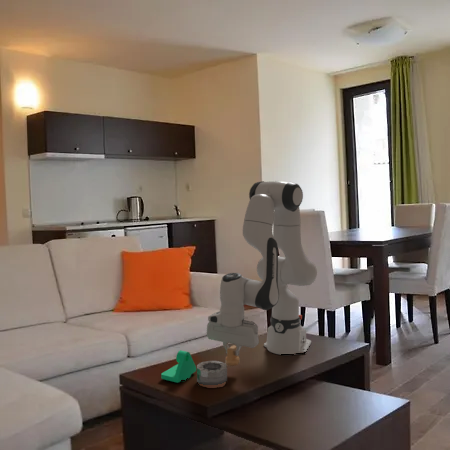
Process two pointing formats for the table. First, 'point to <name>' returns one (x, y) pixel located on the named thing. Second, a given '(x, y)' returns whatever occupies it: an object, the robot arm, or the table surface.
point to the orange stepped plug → (232, 357)
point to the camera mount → (180, 368)
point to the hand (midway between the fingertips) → (232, 354)
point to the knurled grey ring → (211, 373)
